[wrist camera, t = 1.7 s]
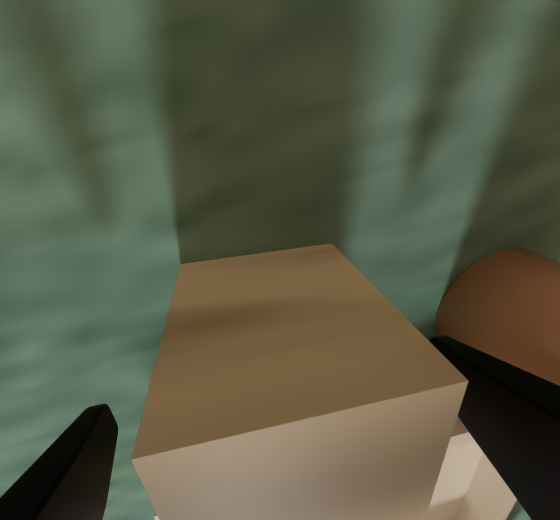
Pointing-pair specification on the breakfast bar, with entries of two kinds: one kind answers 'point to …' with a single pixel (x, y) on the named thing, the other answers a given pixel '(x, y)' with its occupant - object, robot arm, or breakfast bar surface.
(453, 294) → the terracotta domed cylinder
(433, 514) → the tray
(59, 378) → the breakfast bar surface
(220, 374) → the maple block
